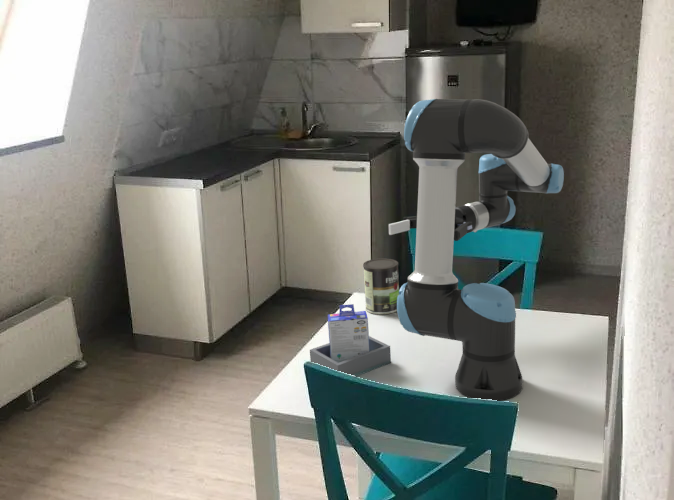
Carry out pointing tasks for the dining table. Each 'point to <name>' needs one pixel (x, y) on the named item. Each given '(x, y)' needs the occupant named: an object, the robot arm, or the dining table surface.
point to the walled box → (354, 358)
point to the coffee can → (381, 285)
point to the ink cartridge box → (348, 334)
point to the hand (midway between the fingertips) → (406, 234)
